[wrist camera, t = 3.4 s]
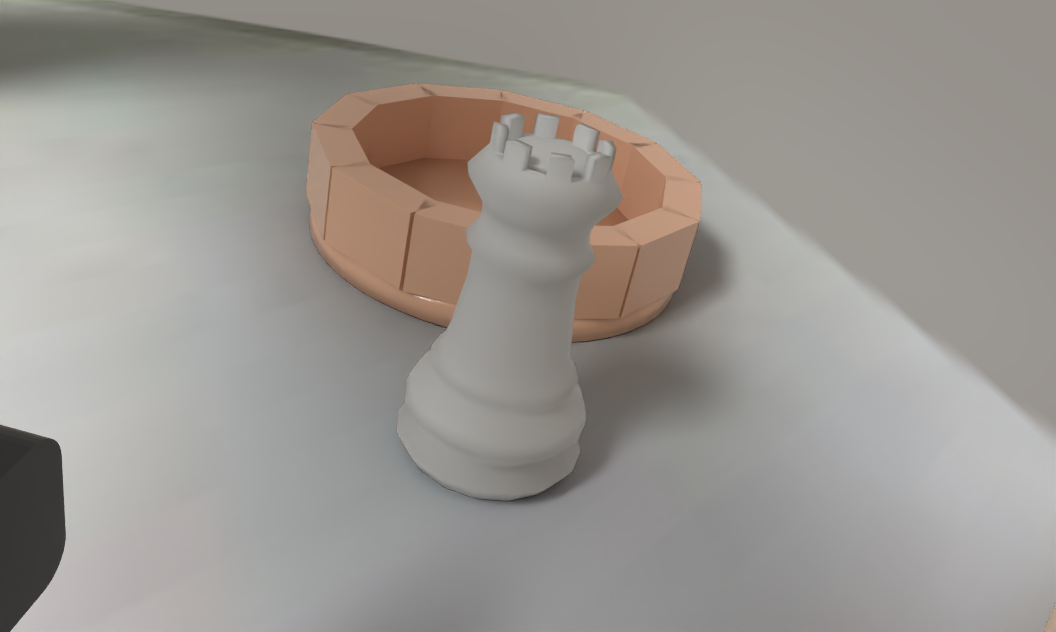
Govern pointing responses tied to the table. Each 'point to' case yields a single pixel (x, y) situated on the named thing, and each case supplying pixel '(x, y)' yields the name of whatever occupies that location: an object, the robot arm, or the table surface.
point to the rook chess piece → (514, 319)
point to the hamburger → (1051, 622)
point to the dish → (454, 204)
